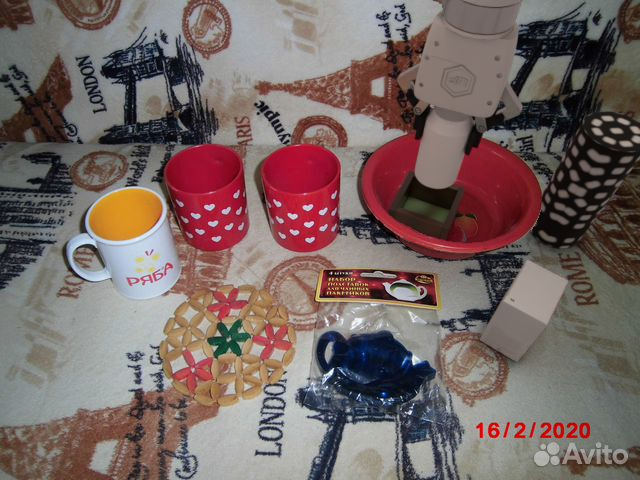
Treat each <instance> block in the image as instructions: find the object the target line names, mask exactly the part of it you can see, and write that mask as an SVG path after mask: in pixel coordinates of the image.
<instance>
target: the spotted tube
mask: <svg viewBox="0 0 640 480" xmlns="http://www.w3.org/2000/svg"><path fill="white" fill-rule="evenodd" d="M639 160H640V121H638V120H637V119H635V118H634V117H631V116H628V115H626V114H623V113H620V112H615V111H610V110H608V111H607V110H599V111H594V112H591V113H589V114H587V115H586V116H585V117H584V118H583V120H582V122H581V124H580V126H579V127H578V129H577V130H576V133H575V134H574V136H573V138H572V140H571V141H570V143H569V145H568V147H567V149H566V151H565V152H564V155H563V156H562V158H561V160H560V161H559V163H558V165H557V166H556V169H555V170H554V172H553V175H551V178H550V179H549V181H548V183H547V185H546V186H545V188H544V190H543V192H542V194H541V196H542V209H541V212H540V215H539V218H538V220H537V222H536V224H535V226H534V227H533V229H532V230H531V231H530V230H529V232H530V233H531V235H532V236H533V237H534V238H535V239H536V240H537V241H539V242H540V243H542V245H543V244H544V245H545V246H547V247H551V248H555V249H570V248H573V247H575V246H576V245H577V244H578V243H580V241H581V240H582V238H583V237H584V236H585V234H586V232H587V231H588V230H589V228H591V226H592V224H593V223H594V222H595V220H596V219H597V217H599V215H600V214H601V212H602V211H603V209H604V208H605V207H606V205H607V204H608V203H609V201H610V200H611V198H612V197H613V196H614V194H615V193H616V192H617V190H618V189H619V187H621V185H622V184H623V182H624V181H625V179H627V177H628V175H629V174H631V172H632V170H633V168H634V167H635V166H636V165H637V163H638V162H639Z"/></svg>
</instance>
